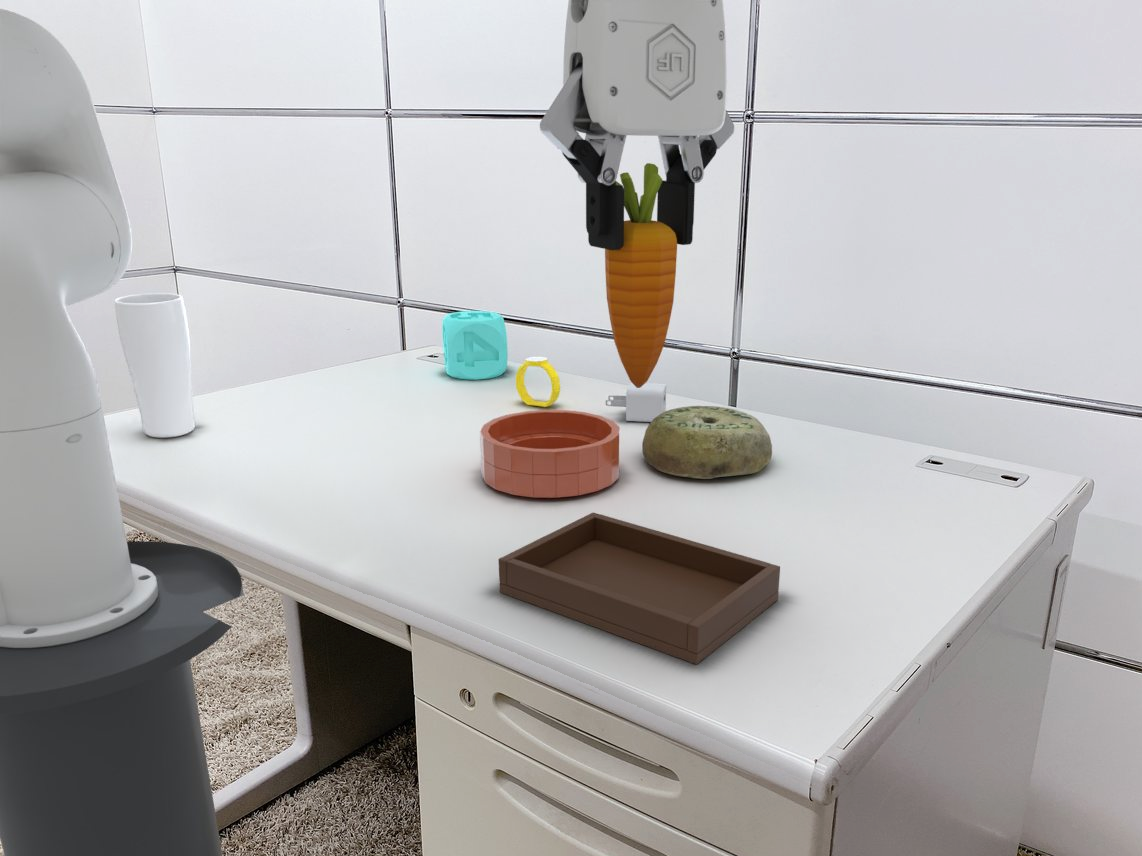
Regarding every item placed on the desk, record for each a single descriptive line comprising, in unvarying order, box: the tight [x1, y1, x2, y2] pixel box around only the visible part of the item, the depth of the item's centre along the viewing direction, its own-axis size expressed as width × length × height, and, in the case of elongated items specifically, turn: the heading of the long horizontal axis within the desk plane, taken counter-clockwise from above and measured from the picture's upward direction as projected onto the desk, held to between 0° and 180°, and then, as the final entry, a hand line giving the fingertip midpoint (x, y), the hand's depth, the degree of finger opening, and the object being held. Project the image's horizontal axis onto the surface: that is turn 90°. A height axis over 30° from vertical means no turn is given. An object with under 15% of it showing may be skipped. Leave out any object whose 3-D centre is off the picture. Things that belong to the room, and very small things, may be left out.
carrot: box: [604, 162, 678, 388], centre depth 66 cm, size 5×5×15 cm
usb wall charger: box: [605, 382, 667, 423], centre depth 117 cm, size 4×7×4 cm, turn 83°
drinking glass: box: [113, 292, 196, 439], centre depth 107 cm, size 7×7×15 cm
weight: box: [641, 405, 773, 480], centre depth 102 cm, size 14×13×5 cm
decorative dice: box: [441, 310, 509, 381], centre depth 135 cm, size 8×8×8 cm
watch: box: [515, 356, 562, 408], centre depth 121 cm, size 6×3×6 cm, turn 58°
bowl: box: [479, 409, 621, 499], centre depth 97 cm, size 14×14×5 cm
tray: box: [498, 512, 781, 665], centre depth 73 cm, size 18×12×3 cm, turn 55°
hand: (640, 242), depth 65 cm, fingers closed on carrot, 5 cm apart
